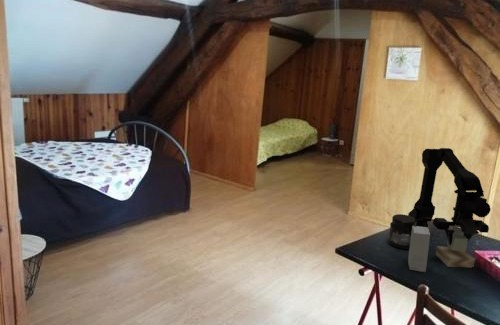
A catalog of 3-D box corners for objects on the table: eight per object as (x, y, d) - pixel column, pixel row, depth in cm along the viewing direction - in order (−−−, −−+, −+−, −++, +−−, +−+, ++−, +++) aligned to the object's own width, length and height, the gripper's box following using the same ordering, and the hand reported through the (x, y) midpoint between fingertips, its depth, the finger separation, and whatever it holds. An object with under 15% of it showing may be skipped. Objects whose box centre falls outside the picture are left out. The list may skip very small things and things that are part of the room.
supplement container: (399, 237, 176) (403, 212, 173) (419, 247, 167) (423, 220, 164) (382, 241, 171) (385, 215, 169) (401, 252, 162) (405, 224, 160)
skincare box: (425, 272, 146) (431, 235, 143) (408, 269, 148) (413, 232, 144) (423, 262, 154) (429, 226, 150) (406, 259, 156) (412, 224, 152)
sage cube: (452, 250, 153) (454, 238, 152) (447, 244, 158) (449, 232, 157) (465, 251, 153) (468, 239, 152) (460, 245, 158) (462, 233, 157)
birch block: (447, 267, 152) (449, 257, 151) (435, 255, 162) (436, 246, 161) (473, 268, 152) (475, 258, 151) (459, 256, 162) (461, 247, 161)
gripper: (447, 213, 144) (440, 253, 148) (500, 217, 143) (492, 256, 147) (435, 203, 155) (429, 240, 159) (484, 206, 154) (477, 243, 158)
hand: (456, 245), depth 155 cm, fingers closed on sage cube, 5 cm apart
